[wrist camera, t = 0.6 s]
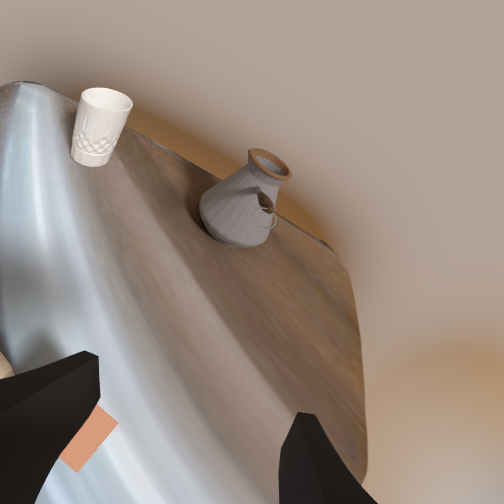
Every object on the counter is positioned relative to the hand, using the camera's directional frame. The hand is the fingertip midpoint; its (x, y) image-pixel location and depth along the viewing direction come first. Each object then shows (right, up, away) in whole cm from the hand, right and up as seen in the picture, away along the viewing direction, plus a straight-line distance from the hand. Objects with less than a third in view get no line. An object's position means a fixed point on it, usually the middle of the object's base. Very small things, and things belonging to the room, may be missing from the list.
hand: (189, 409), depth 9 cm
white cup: (-23, +20, +32) cm, 44 cm away
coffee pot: (-3, +6, +34) cm, 35 cm away
